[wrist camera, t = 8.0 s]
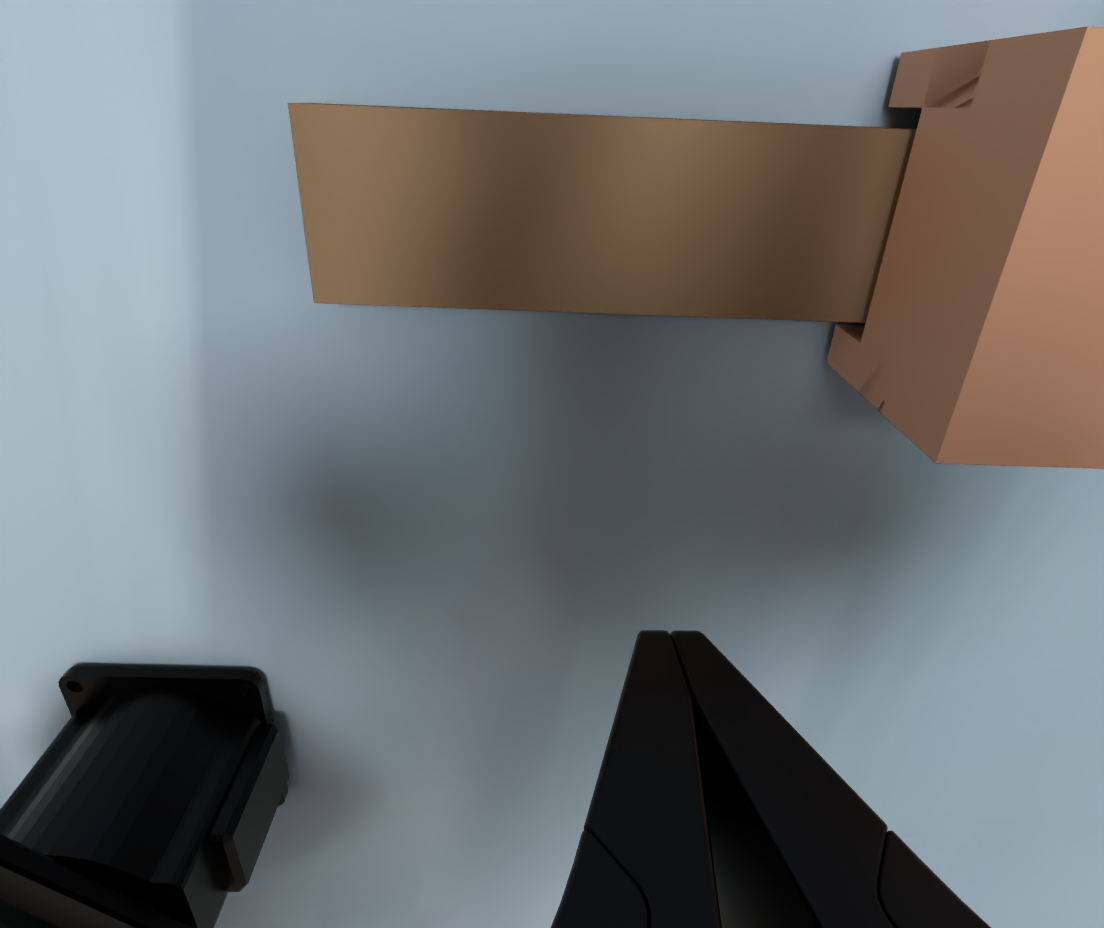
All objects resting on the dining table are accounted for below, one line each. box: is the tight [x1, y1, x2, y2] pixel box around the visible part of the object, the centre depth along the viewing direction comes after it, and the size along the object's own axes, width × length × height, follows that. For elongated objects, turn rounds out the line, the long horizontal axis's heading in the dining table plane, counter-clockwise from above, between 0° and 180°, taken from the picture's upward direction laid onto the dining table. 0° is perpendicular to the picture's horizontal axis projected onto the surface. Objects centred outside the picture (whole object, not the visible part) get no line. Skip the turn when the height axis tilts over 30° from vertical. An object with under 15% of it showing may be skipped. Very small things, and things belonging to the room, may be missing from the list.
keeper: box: [827, 27, 1104, 469], centre depth 13 cm, size 5×7×6 cm
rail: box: [288, 103, 917, 323], centre depth 14 cm, size 20×7×5 cm, turn 88°
